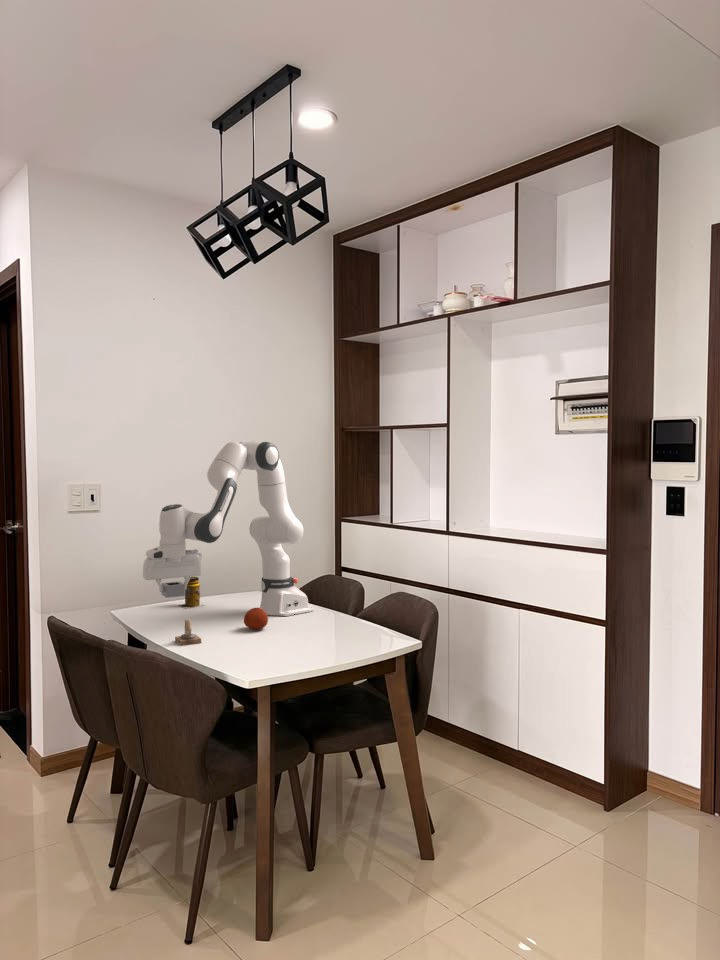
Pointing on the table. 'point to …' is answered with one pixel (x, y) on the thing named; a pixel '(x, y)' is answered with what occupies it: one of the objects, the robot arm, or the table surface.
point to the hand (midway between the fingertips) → (173, 590)
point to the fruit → (256, 619)
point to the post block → (187, 636)
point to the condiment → (192, 594)
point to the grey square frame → (173, 589)
